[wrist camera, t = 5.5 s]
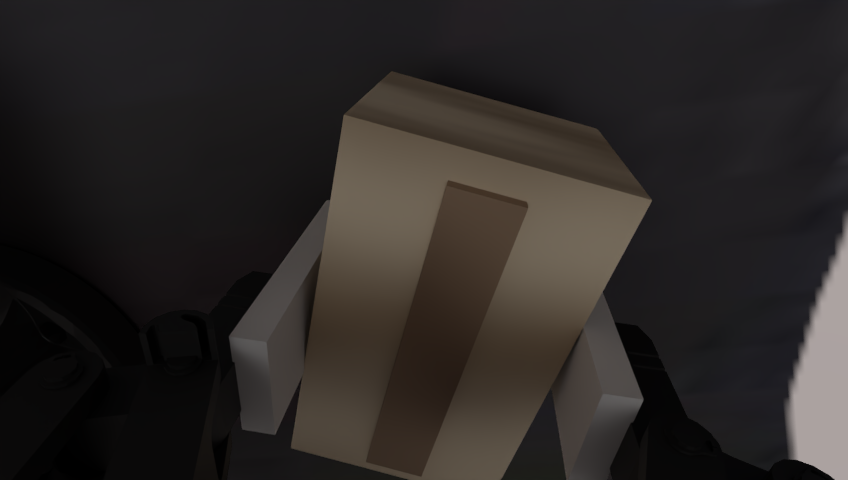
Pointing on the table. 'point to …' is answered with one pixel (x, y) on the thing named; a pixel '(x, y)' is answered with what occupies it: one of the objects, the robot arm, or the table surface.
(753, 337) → the table surface
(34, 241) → the table surface
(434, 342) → the tan striped block
